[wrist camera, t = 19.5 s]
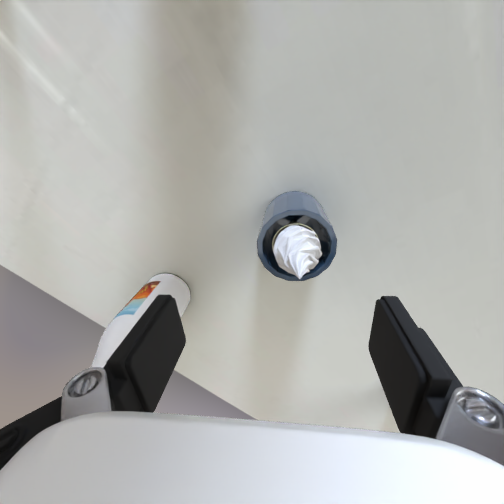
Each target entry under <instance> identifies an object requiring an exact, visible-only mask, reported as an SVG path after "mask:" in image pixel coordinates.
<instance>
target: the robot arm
mask: <svg viewBox="0 0 504 504" xmlns="http://www.w3.org/2000/svg"><path fill="white" fill-rule="evenodd" d="M185 342H186V338H185V334H184V330H183V326H182V323H181V319H180V315H179V311H178V307H177V303H176V300H175V298H172V296H171V295H158V296H157V297H156V298H155V299H154V301H153V302H152V303H151V304H150V306H149V307H148V308H147V310H146V311H145V312H144V314H143V315H142V316H141V317H140V319H139V320H138V321H137V323H136V324H135V325H134V327H133V328H132V329H131V331H130V332H129V333H128V334H127V336H126V337H125V338H124V340H123V341H122V342H121V344H120V345H119V346H118V347H117V349H116V350H115V351H114V353H113V354H112V355H111V357H110V358H109V359H108V360H107V362H106V364H105V366H104V367H103V368H102V367H92V368H88V369H86V370H83V371H82V372H80V373H78V374H77V375H75V376H74V377H73V378H72V379H71V380H70V381H69V382H68V383H67V384H66V386H65V387H64V389H63V393H62V396H61V397H59V398H57V399H56V400H54V401H52V402H50V403H48V404H46V405H44V406H42V407H41V408H39V409H37V410H35V411H33V412H31V413H29V414H27V415H25V416H24V417H22V418H20V419H18V420H16V421H14V422H12V423H11V424H9V425H7V426H5V427H4V428H2V429H0V504H504V404H503V403H501V402H500V401H499V400H498V399H496V398H495V397H493V396H492V395H490V394H488V393H487V392H484V391H482V390H479V389H477V388H472V387H463V386H462V384H461V383H460V381H459V380H458V378H457V377H456V376H455V374H454V373H453V371H452V370H451V368H450V367H449V365H448V364H447V363H446V361H445V360H444V358H443V357H442V355H441V354H440V352H439V351H438V350H437V348H436V347H435V345H434V344H433V342H432V341H431V339H430V338H429V336H428V335H427V334H426V332H425V331H424V330H423V329H422V328H418V327H417V325H416V324H415V322H414V321H413V319H412V318H411V316H410V315H409V313H408V312H407V310H406V309H405V307H404V306H403V304H402V303H401V301H400V300H399V298H398V297H396V296H382V297H381V299H380V300H379V299H378V300H377V301H376V305H375V311H374V317H373V322H372V328H371V334H370V340H369V352H370V355H371V358H372V360H373V363H374V365H375V368H376V371H377V373H378V376H379V379H380V381H381V384H382V387H383V389H384V392H385V395H386V397H387V400H388V402H389V405H390V408H391V410H392V413H393V416H394V418H395V421H396V424H397V426H398V429H399V431H400V432H401V433H395V432H385V431H375V430H365V429H356V428H344V427H332V426H320V425H309V424H297V423H285V422H272V421H260V420H247V419H234V418H222V417H208V416H195V415H194V416H193V415H181V414H168V413H167V414H166V413H153V412H154V411H155V409H156V407H157V404H158V402H159V400H160V398H161V396H162V394H163V391H164V389H165V387H166V385H167V383H168V381H169V378H170V376H171V374H172V372H173V370H174V368H175V366H176V363H177V361H178V359H179V357H180V355H181V353H182V350H183V348H184V346H185ZM403 433H405V434H403Z"/></svg>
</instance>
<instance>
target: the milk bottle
mask: <svg viewBox="0 0 504 504" xmlns="http://www.w3.org/2000/svg"><path fill="white" fill-rule="evenodd" d="M158 295H171V296H172V298H175V300H176V303H177V307H178V311H179V315H180V319H181V317H182V315H183V313H184V312H185V310H186V308H187V306H188V304H189V302H190V298H191V295H190V290H189V288H188V286H187V284H186V283H185V282H184V281H183V280H182V279H180V278H179V277H177V276H175V275H172V274H164V273H163V274H158V275H156V276H154V277H152V278H151V279H150V280H149V281H148V282H147V283H146V284H145V285H144V286H143V287H142V288H141V290H140V291H139V292H138V293H137V294H136V295H135V296H134V297H133V298H132V299H131V300H130V301H129V302H128V304H127V305H126V306H125V307H124V308H123V309H122V310H121V311H120V312H119V313H118V314H117V316H116V317H115V318H114V319H113V320H112V321H111V323H110V324H109V325H108V327H107V328H106V330H105V331H104V333H103V335H102V337H101V339H100V343H99V345H98V349H97V353H96V356H95V358H94V361H93V363H92V365H91V367H90V368H92V367H102V368H103V367H104V366H105V364H106V362H107V360H108V359H109V358H110V357H111V355H112V354H113V353H114V351H115V350H116V349H117V347H118V346H119V345H120V344H121V342H122V341H123V340H124V338H125V337H126V336H127V334H128V333H129V332H130V331H131V329H132V328H133V327H134V325H135V324H136V323H137V321H138V320H139V319H140V317H141V316H142V315H143V314H144V312H145V311H146V310H147V308H148V307H149V306H150V304H151V303H152V302H153V301H154V299H155V298H156V297H157V296H158Z"/></svg>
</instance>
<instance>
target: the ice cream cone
mask: <svg viewBox="0 0 504 504" xmlns="http://www.w3.org/2000/svg"><path fill="white" fill-rule="evenodd" d="M272 249H273V253H274V255H275V258H276V261H277V263H278V265H279V267H281V268H282V269H284V270H285V271H287V272H288V273H291V274H294V275H296V276H297V277H298V278H299V279H301V278H302V276H303V275H304V274H305V273H308V272H309V269H313V268H314V267H315V266H316V265H317V264H318V262H319V260H317V259H319V258H320V257H321V255H322V252H321V250H320V249H321V245H320V241H319V239H318V236H317V234H316V233H315V232H314V230H313V229H311V228H310V227H308V226H306V225H304V224H300V223H298V222H296V221H294V220H292V221H291V222H290V223H289V224H287V225H286V226H284V227H282V228H281V229H280V230H279V231H278V232H277V233H276V234H275V236H274V238H273V241H272Z"/></svg>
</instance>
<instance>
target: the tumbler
mask: <svg viewBox="0 0 504 504" xmlns="http://www.w3.org/2000/svg"><path fill="white" fill-rule="evenodd" d="M292 220H294V221H296V222H298V223H300V224H304V225H306V226H308V227H310V228H311V229H313V230H314V232H315V233H316V234H317V236H318V239H319V241H320V245H321V249H320V250H321V252H322V255H321V257H320V258H319V259H317V260H319V262H318V264H317V265H316V266H315V267H314V268H313V269H309V272H308V273H305V274H304V275H303V276H302V278H301V279H299V278H298V277H297V276H296V275H294V274H291V273H288V272H287V271H285V270H284V269H282V268H281V267H279V265H278V263H277V261H276V258H275V255H274V253H273V249H272V241H273V238H274V236H275V234H276V233H277V232H278V231H279V230H280V229H281V228H282V227H284V226H286V225H287V224H289V223H290V222H291V221H292ZM336 246H337V238H336V236H335V233H334V230H333V228H332V226H331V224H330V222H329V220H328V218H327V216H326V214H325V212H324V210H323V208H322V206H321V204H320V203H319V202H318V201H317V200H316V199H315V198H314V197H312V196H311V195H309V194H307V193H304V192H299V191H292V192H286V193H283V194H281V195H279V196H278V197H276V198H275V199H274V200H273V201H272V202H271V203H270V204H269V205H268V207H267V209H266V211H265V214H264V217H263V221H262V224H261V228H260V232H259V236H258V239H257V249H258V256H259V258H260V260H261V262H262V264H263V265H264V267H265V268H266V269H267V270H268V271H270V272H271V273H272V274H273V275H274V276H276V277H279V278H282V279H285V280H288V281H304V280H307V279H310V278H313V277H316V276H318V275H319V274H321V273H322V272H323V271H324V270H325V269H327V268H328V267H329V266H330V264H331V262H332V260H333V258H334V257H335V255H336Z"/></svg>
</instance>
